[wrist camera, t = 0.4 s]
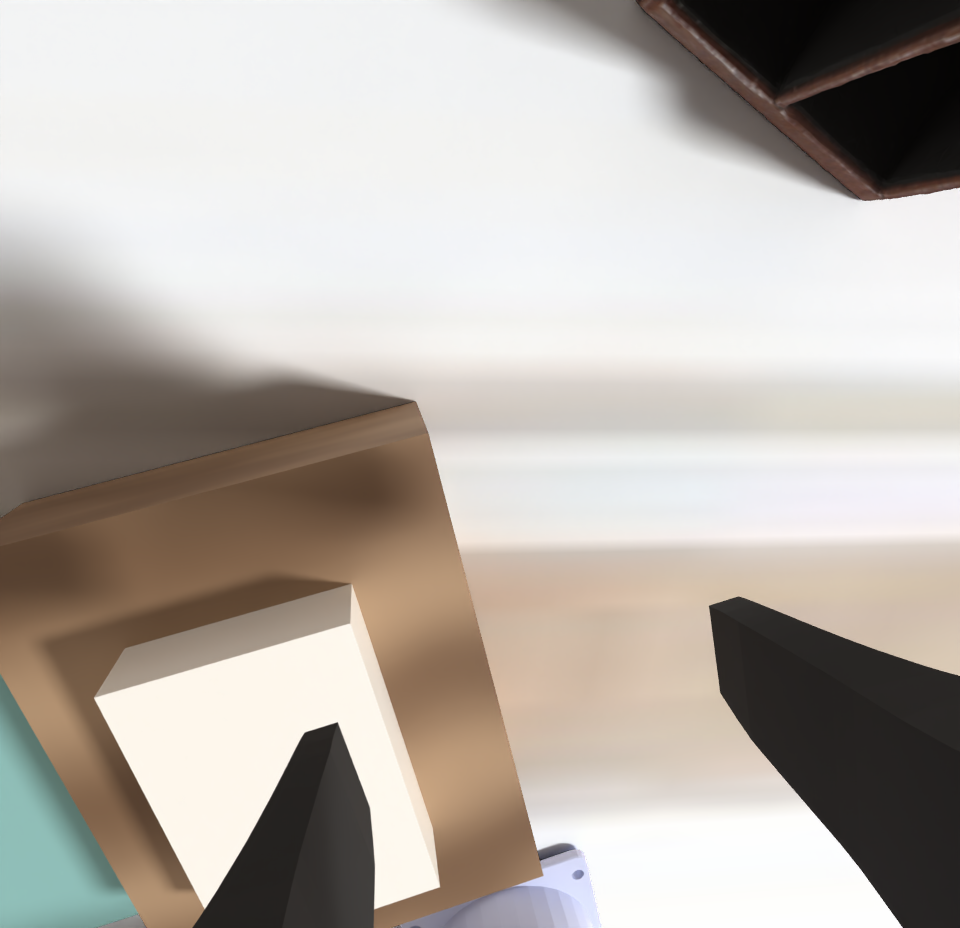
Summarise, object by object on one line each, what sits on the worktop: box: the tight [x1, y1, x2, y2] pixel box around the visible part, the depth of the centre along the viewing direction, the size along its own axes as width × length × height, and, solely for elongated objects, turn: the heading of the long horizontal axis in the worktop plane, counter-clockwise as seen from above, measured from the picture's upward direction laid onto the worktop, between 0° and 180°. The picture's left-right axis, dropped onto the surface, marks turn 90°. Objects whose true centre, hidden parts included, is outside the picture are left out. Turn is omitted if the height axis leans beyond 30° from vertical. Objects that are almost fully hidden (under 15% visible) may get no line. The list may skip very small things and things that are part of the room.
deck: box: [0, 402, 544, 928], centre depth 20 cm, size 16×12×4 cm
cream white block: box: [94, 584, 440, 909], centre depth 17 cm, size 9×6×2 cm, turn 13°
